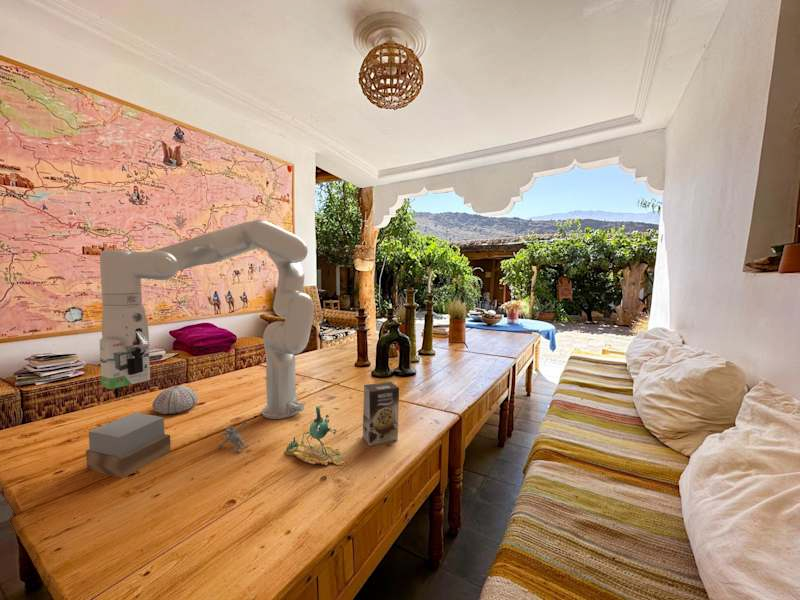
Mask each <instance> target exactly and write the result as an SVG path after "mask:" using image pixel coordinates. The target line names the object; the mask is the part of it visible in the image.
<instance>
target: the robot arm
mask: <svg viewBox="0 0 800 600" xmlns="http://www.w3.org/2000/svg"><path fill="white" fill-rule="evenodd" d="M260 249H262V250H264V251H266V252H267V254H268V255H267V256H268V257H269V259H270V260H271V261H272V262H273V263H274V265H275V266H276V269H277V270H278V271H277V272H278V281H277V286H276V290H275V296H274V299H273V306H272V309H273V311H274V313H275V314H276V315H277V316H278V317H280V318H283V319H284V321H279V320H278V321H274V322H272V323H270V324H268V325H267V326H266V328H265V329H264V332H263V336H262V340H263V347H264V351H265V364H266V365H265V367H266V368H265V374H266V375H265V377H266V379H265V383H266V385H265V387H266V390H265V391H266V406H265V405H264V407H263V408H262V409H261V415H262V416H263V417H264V418H266V419H271V420H272V419H273V420H282V419H286V418H290V417H293V416H295V415H297V414H299V412H303V411H304V410H305V406H306V405H305V403H304V402H299V397H297V395H296V391H297V389H296V366H297V365H296V356H295V355H298V354H300V353H302V352H303V351H304V350H305V349H306V348H307V346H308V343H309V341H310V340H309V339H310V336H311V330H312V325H313V321H314V316H315V303H314V301H313V299H312V297H311V296H310V295H309V294H307V293H305V292H303V291H304V285H305V271H304V268H303V265H302V263H301V262H303V261H304V260H305V259H306V258H307V256H308V251H309V250H308V245H307V244H306V242H305V241H304V240H303V239H302V238H301V237H299V236H298V235H296V234H294V233H292V232H291V231H290V232H289V231H287V230H286V229H283V228H282V227H280V226H277V225H276V224H273V223H271V222H268V221H266V220H263V219H256V220H249V221H246V222H241V223H238V224H235V225H232V226H231V225H230V226H228V227H224V228H222V229H218V230H214V231H211V232H207V233H204V234H200V235H197V236H195V237H193V238H189V239H187V240H184V241H180V242H178V243H174V244H170V245H167V246H163V247H160V248H157V249H153V250H150V251H134V250H129V249H128V250H125V249H105V250H104V249H103V250H102V251H101V252H100V253H99V268H100V269H99V270H100V283H101V284H100V285H101V286H100V287H101V303H102V304H101V306H102V315H101V337H102V338H111V339H116V340H120V341H121V345H122V347H126V348H127V352H128V355H129V358H130V359H127V363H128V374H129V375H133V374H137V373H140V372H143V358H142V357H143V356H144V353H145V351H146V349H147V348H148V347H149V348H150V345H151V344H150V332H149V324H148V319H147V313H146V310H145V306H144V305H143V296H142V295H143V293H142V279H146V280H156V281H166V280H169V279H172V278H174V277H175V276H176V275H177V274H178V272H180V271H182V270H185V269H191V268H193V267H197V266H202V265H210V264H216V263H219V262H223V261H226V260H229V259H230V258H234V257H237V256H239V255H242V254H245V253H248V252H251V251H254V250H260ZM102 338H101V339H102ZM133 343H137V345H133ZM132 348H137V349H136V350H135V351H134V352H133V349H132Z"/></svg>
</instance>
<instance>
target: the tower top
mask: <svg viewBox="0 0 800 600" xmlns="http://www.w3.org/2000/svg"><path fill="white" fill-rule="evenodd" d="M165 434H166V433H165V418H164V416H157V415H151V414H144V413H141V412H134V413H133V412H132V413H131V414H128V415H126V416H123V417H121V418H119V419H115V420H114V421H111V422H108V423H106V424H103V425H100V426H98V427H96V428H93V429H90V430H88V443H89V449H90V451H93V452H97V453H102V454H106V455H111V456H115V457H120V458H121V457H123V456H125V455H127V454H129V453H131V452H133V451H135V450H137V449H139V448H141V447H143V446H145V445H147V444H149V443H151V442H153V441H154V440H156V439H158V438H160V437H162V436H164V435H165Z"/></svg>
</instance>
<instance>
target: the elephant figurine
mask: <svg viewBox="0 0 800 600" xmlns="http://www.w3.org/2000/svg"><path fill="white" fill-rule="evenodd" d="M246 424H247V422H246V421H244V422H243V423H241V425H240V426H239V427H238V428H236V429H234V424H231V425H230V426H229V427H226V428H225V431H223V432H222V433H221V434H222V436H224V437H226V436H227V437H226V439H224V441H223V443H221V444H219V446H218V447H217V448H218V449H222V447H224V445H225V444H227V443H228V442H230V443H231V444H232V445H233V446H234V447H235V449H236V450H237V452H238V453H242V451H243V449H244V448H247V444H246V443H245V442H244V440H243V439H242V436H241V434H240V433H239V432H240V430H241V429H242V428H244V427H245V426H246ZM239 444H240V445H241V446H240V445H239ZM241 447H242V448H243V449H242V448H241Z"/></svg>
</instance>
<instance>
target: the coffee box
mask: <svg viewBox="0 0 800 600" xmlns="http://www.w3.org/2000/svg"><path fill="white" fill-rule="evenodd" d="M399 402H400V387H398V386H397V385H396V384H394V383H393V382H392V381H387V382H386V381H385V382H378V383H369V384H363V413H362V415H363V417H362V418H363V419H362V437H363V439H364V440H365V442H366V443H367V445H368V446H369V447H371V446H376V445H381V444H385V443H390V441H391V442H394V441H393V440H395V441H398V440H399V438H398V437H399V434H398V433H399ZM397 439H398V440H397Z"/></svg>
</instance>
